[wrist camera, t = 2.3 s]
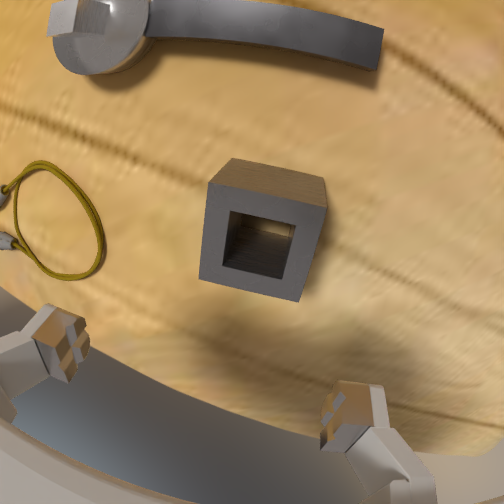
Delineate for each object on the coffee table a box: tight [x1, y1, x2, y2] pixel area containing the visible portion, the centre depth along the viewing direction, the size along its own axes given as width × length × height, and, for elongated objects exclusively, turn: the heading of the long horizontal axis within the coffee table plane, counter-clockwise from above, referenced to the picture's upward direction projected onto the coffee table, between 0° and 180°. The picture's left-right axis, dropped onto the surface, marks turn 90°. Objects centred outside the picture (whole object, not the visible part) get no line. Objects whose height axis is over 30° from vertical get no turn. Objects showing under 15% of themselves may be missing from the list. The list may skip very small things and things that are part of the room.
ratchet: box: [46, 0, 384, 75], centre depth 13 cm, size 20×7×6 cm, turn 80°
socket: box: [199, 158, 327, 302], centre depth 18 cm, size 6×6×5 cm
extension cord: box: [0, 160, 103, 281], centre depth 24 cm, size 12×16×2 cm
